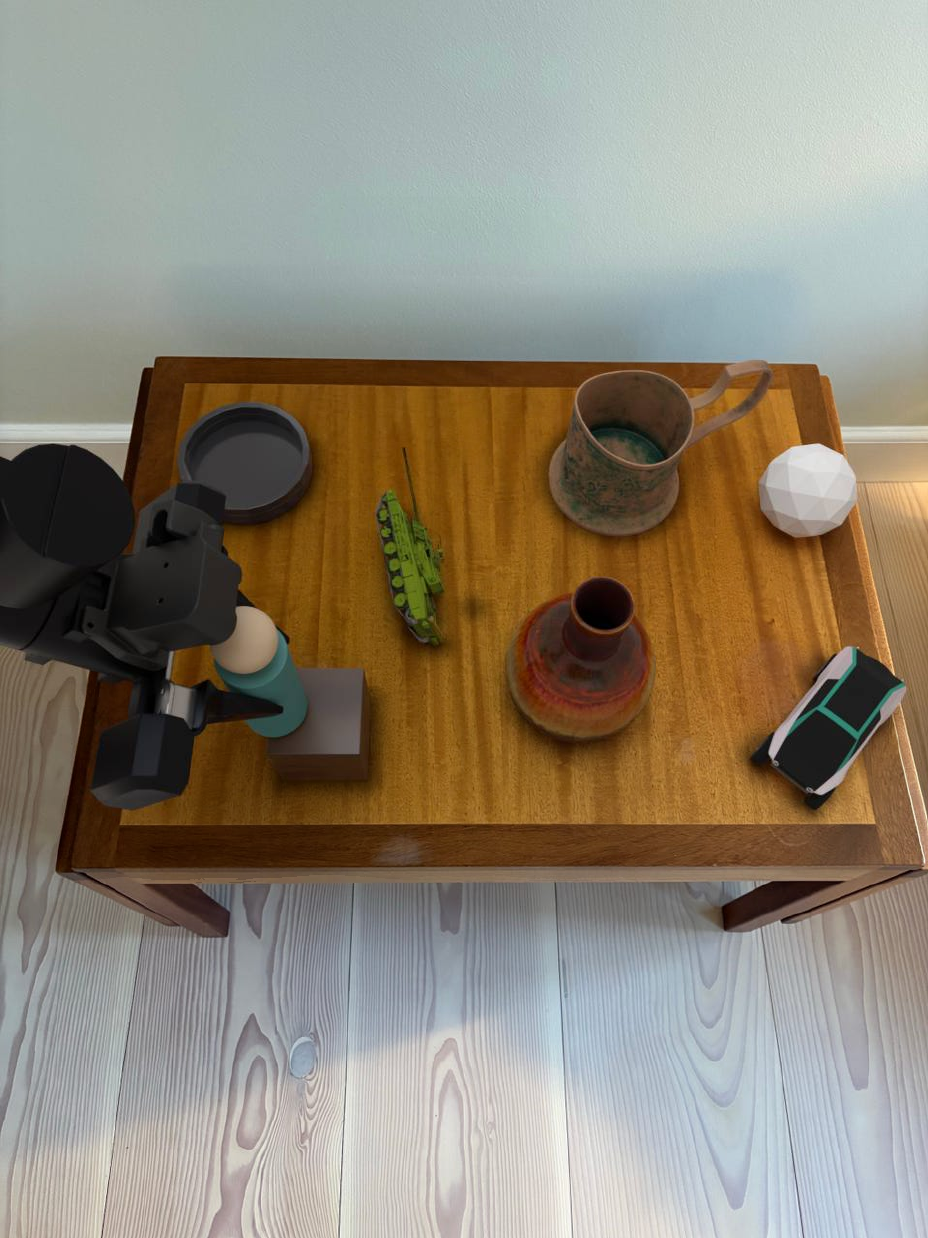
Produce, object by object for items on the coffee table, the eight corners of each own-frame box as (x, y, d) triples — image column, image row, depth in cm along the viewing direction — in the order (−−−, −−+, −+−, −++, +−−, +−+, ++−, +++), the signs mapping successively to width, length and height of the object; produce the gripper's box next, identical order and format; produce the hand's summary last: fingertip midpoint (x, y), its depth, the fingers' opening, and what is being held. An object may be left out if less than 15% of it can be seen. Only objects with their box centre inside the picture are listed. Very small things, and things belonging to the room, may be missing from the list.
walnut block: (367, 781, 67) (359, 754, 61) (282, 780, 67) (265, 754, 61) (371, 701, 70) (364, 667, 64) (289, 700, 70) (274, 667, 64)
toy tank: (370, 633, 67) (499, 597, 66) (334, 432, 75) (448, 398, 74) (394, 665, 73) (512, 633, 72) (358, 476, 81) (464, 446, 80)
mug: (761, 500, 79) (812, 414, 68) (575, 551, 76) (597, 470, 65) (707, 400, 84) (747, 304, 73) (530, 444, 81) (544, 352, 70)
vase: (655, 745, 69) (710, 672, 55) (515, 766, 68) (534, 696, 54) (623, 617, 74) (666, 519, 60) (491, 635, 73) (503, 539, 59)
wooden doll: (305, 738, 61) (273, 662, 49) (240, 737, 61) (192, 662, 49) (309, 677, 63) (280, 591, 51) (246, 677, 63) (202, 590, 51)
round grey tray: (308, 525, 77) (304, 510, 75) (177, 524, 77) (169, 508, 74) (316, 420, 82) (313, 402, 79) (193, 418, 81) (186, 400, 79)
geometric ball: (763, 551, 73) (728, 494, 79) (844, 560, 76) (805, 504, 81) (809, 475, 69) (768, 420, 74) (895, 487, 71) (849, 432, 76)
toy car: (891, 704, 71) (924, 680, 66) (809, 815, 67) (837, 798, 62) (828, 658, 73) (856, 631, 68) (744, 763, 69) (767, 743, 64)
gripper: (76, 738, 37) (359, 802, 48) (143, 384, 45) (373, 505, 56) (-28, 784, 44) (239, 832, 55) (46, 471, 52) (267, 564, 63)
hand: (282, 677), depth 57 cm, fingers closed on wooden doll, 4 cm apart
